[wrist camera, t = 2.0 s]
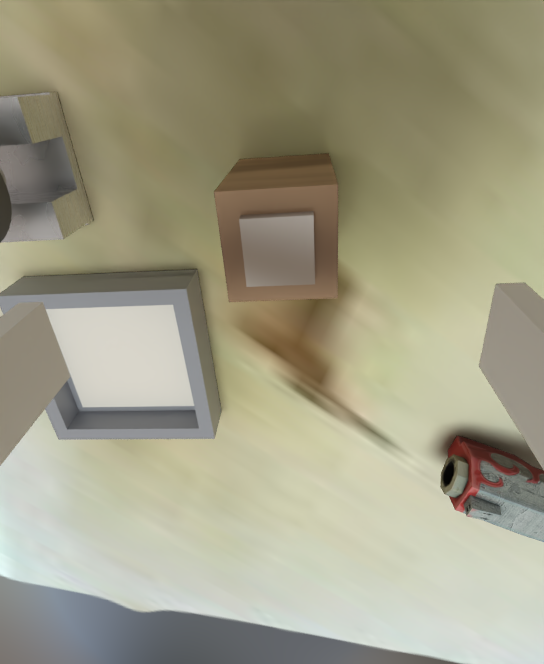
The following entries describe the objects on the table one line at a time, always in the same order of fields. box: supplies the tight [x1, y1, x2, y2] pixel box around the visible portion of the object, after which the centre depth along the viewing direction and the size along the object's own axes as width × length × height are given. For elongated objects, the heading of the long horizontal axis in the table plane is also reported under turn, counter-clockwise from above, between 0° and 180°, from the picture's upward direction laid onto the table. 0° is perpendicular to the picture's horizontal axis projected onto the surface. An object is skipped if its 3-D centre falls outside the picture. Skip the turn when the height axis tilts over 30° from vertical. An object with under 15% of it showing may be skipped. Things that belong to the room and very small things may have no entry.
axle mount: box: [0, 92, 93, 242], centre depth 24 cm, size 7×6×4 cm
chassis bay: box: [0, 269, 221, 439], centre depth 30 cm, size 12×12×3 cm
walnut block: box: [214, 153, 338, 302], centre depth 22 cm, size 5×5×9 cm
